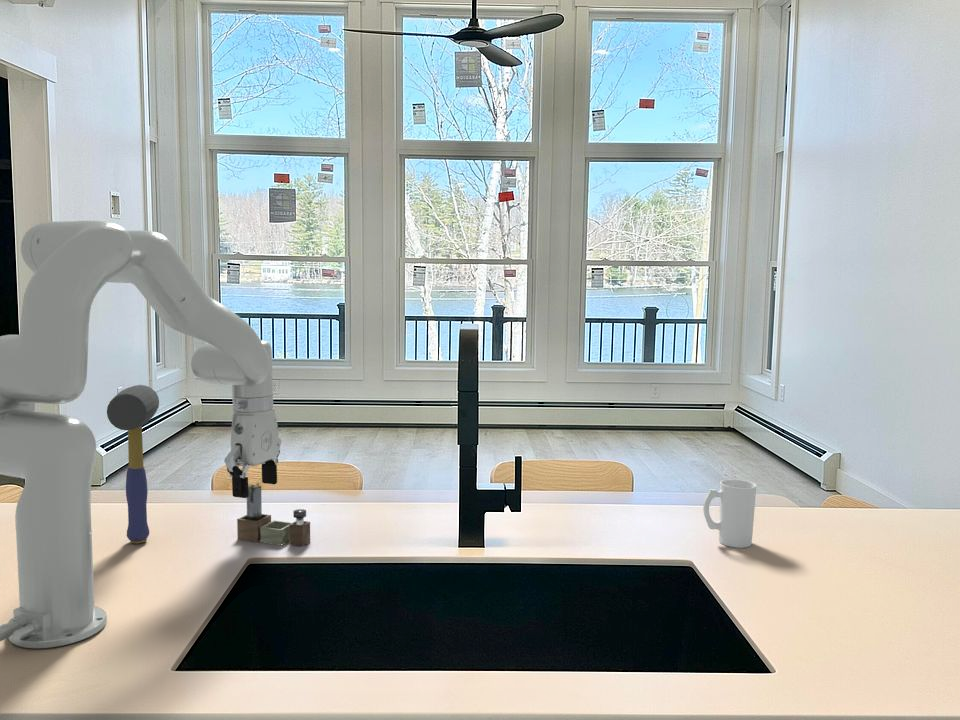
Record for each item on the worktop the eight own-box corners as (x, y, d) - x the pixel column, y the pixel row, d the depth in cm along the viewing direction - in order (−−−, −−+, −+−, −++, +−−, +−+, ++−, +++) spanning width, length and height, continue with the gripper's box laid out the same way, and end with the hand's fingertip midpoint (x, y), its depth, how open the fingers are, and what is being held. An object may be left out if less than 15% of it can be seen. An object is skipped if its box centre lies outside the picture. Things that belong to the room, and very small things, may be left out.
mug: (745, 537, 161) (748, 479, 160) (758, 548, 155) (761, 488, 153) (696, 537, 161) (699, 479, 159) (707, 548, 154) (710, 488, 153)
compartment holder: (300, 548, 151) (300, 527, 150) (237, 539, 155) (237, 519, 155) (312, 540, 155) (312, 520, 155) (251, 531, 159) (251, 512, 159)
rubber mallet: (151, 552, 147) (147, 392, 144) (108, 554, 146) (102, 392, 142) (165, 530, 159) (161, 382, 156) (125, 532, 158) (120, 382, 155)
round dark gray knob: (302, 544, 152) (302, 513, 151) (291, 542, 153) (291, 512, 152) (308, 540, 154) (308, 510, 153) (297, 538, 155) (297, 508, 154)
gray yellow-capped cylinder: (256, 540, 155) (255, 486, 154) (244, 538, 156) (243, 485, 154) (264, 535, 157) (264, 483, 156) (252, 533, 158) (251, 481, 157)
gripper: (242, 413, 144) (245, 505, 147) (294, 398, 161) (295, 480, 163) (208, 410, 147) (211, 500, 149) (262, 395, 163) (264, 476, 165)
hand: (255, 490), depth 156 cm, fingers open, 9 cm apart
